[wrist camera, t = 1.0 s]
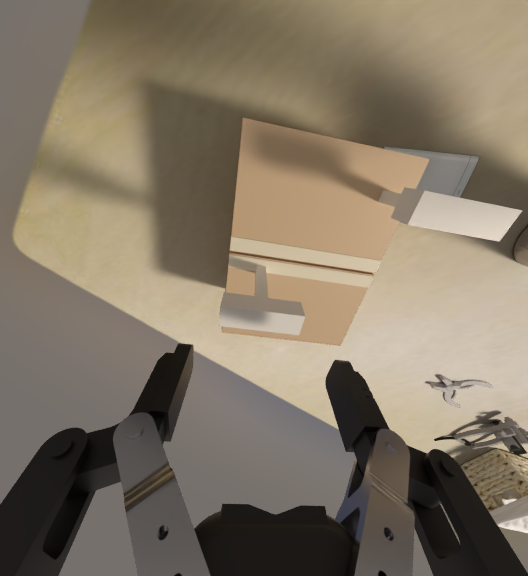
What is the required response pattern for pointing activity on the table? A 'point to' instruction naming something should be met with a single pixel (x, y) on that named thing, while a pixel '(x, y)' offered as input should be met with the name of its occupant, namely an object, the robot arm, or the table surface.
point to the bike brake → (497, 436)
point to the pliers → (455, 387)
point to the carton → (339, 200)
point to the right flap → (290, 299)
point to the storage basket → (501, 487)
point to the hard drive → (443, 171)
